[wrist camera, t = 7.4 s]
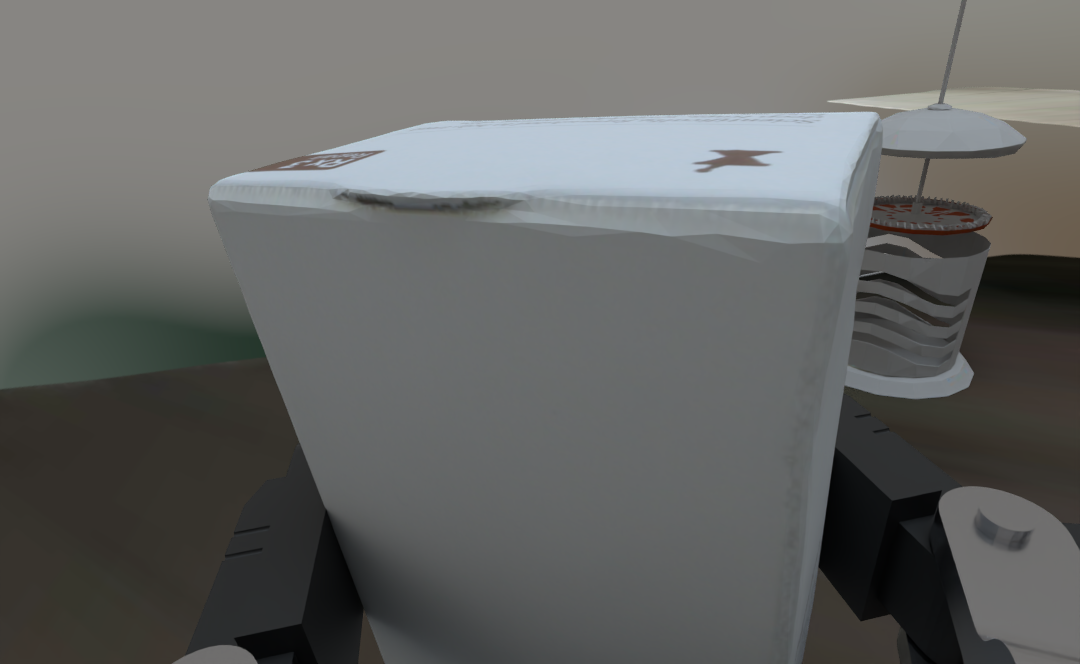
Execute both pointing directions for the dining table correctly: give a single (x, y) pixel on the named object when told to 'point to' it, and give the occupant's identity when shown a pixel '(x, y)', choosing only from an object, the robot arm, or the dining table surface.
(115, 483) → the dining table surface
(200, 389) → the dining table surface
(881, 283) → the french press
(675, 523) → the skincare box
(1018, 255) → the dining table surface
